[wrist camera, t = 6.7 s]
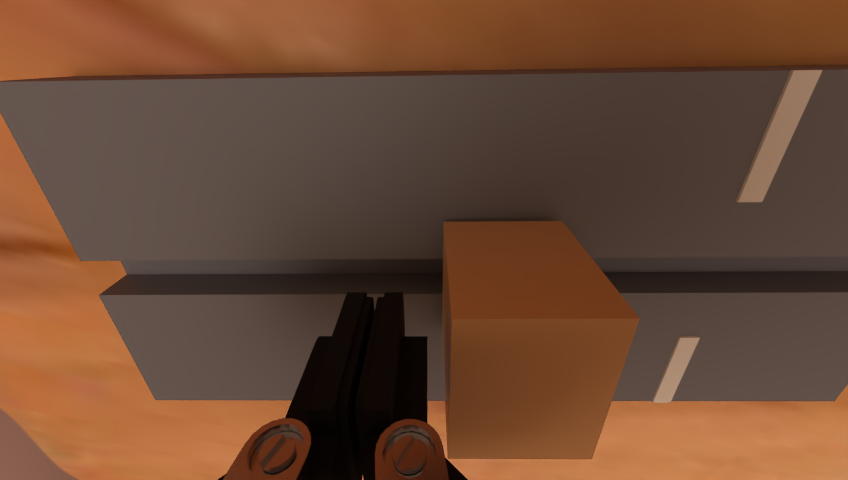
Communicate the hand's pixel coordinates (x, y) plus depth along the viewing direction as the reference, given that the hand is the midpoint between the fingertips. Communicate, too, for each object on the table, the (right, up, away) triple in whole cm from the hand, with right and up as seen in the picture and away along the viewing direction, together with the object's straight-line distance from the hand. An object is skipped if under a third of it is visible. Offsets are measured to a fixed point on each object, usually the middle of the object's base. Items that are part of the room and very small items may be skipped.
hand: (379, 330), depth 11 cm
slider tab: (+4, +2, +4) cm, 6 cm away
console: (+4, +3, +5) cm, 7 cm away
